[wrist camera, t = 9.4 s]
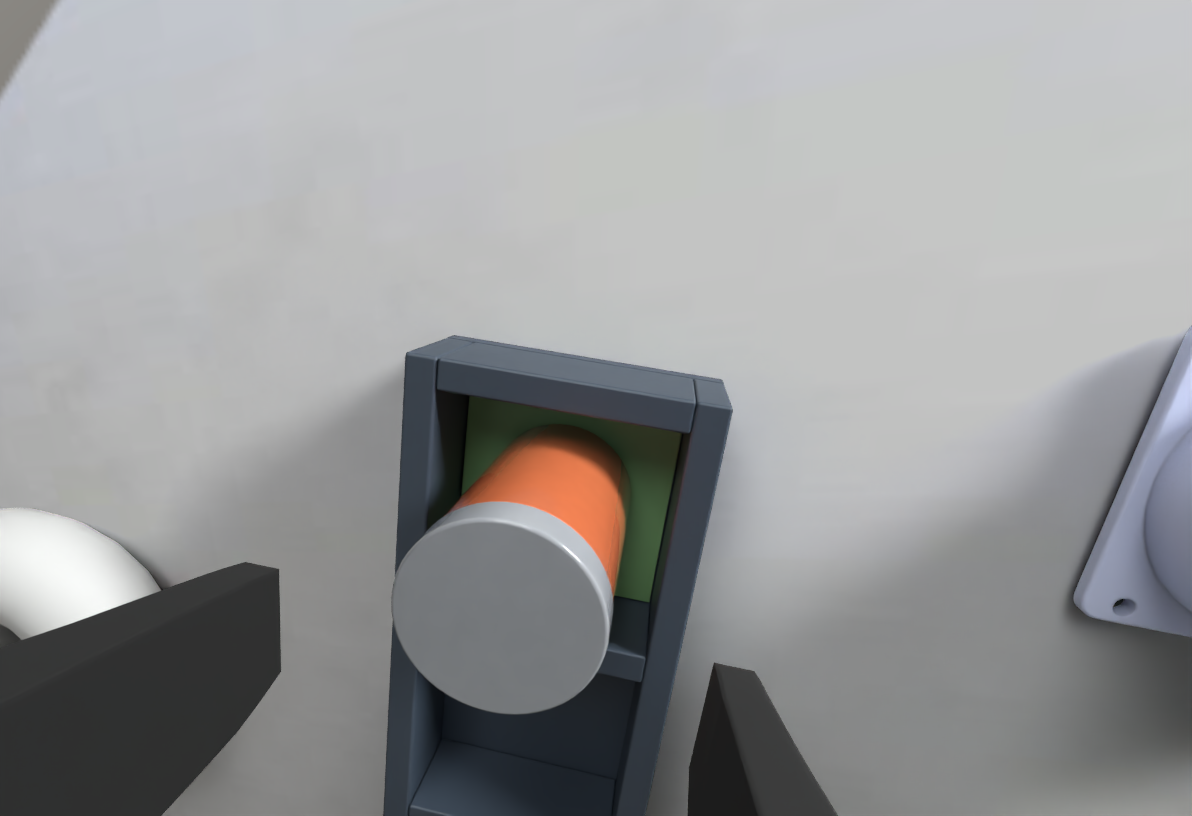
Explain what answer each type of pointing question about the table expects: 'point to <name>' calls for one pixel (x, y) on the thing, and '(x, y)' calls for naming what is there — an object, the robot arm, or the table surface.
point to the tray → (643, 591)
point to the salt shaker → (519, 575)
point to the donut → (60, 573)
